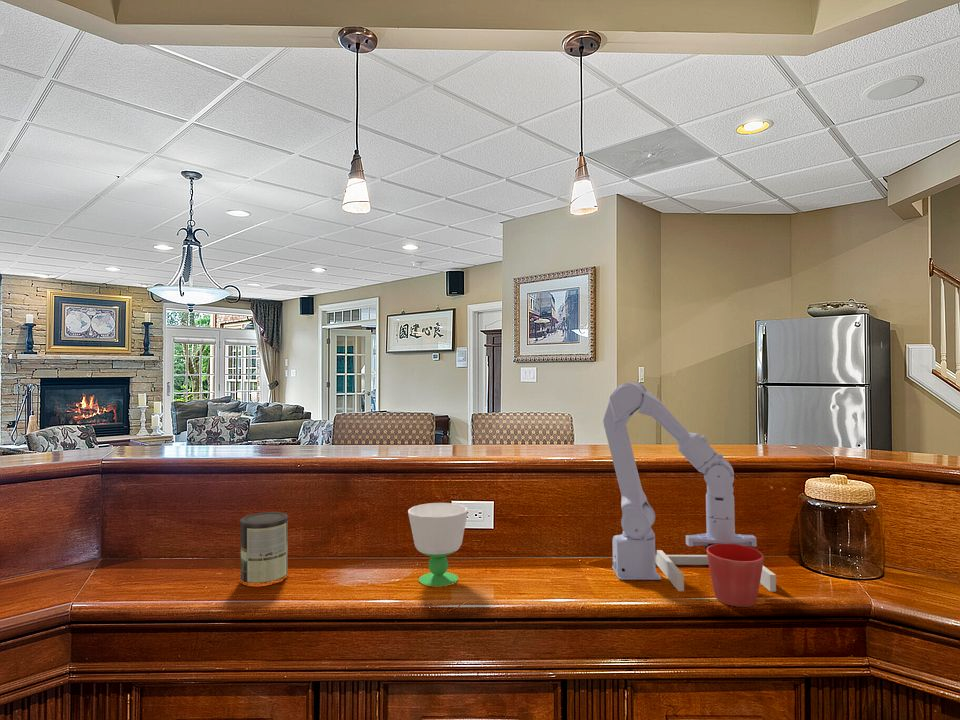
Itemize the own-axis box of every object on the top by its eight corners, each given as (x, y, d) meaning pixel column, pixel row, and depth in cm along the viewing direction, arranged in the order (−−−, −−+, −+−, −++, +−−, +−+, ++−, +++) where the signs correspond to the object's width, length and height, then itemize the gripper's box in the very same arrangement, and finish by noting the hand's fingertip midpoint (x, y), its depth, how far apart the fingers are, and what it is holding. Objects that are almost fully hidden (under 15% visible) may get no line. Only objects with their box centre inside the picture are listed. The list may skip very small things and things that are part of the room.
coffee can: (229, 583, 127) (229, 520, 127) (265, 568, 136) (265, 510, 137) (263, 590, 123) (263, 525, 123) (297, 575, 132) (297, 514, 132)
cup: (403, 573, 133) (402, 505, 133) (459, 566, 137) (458, 500, 137) (414, 595, 120) (414, 519, 120) (476, 586, 124) (475, 514, 124)
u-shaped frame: (678, 591, 120) (678, 574, 120) (655, 563, 138) (655, 548, 138) (776, 591, 119) (775, 574, 120) (740, 563, 137) (740, 548, 137)
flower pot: (759, 590, 119) (757, 544, 119) (770, 613, 109) (768, 563, 109) (705, 585, 122) (703, 541, 122) (710, 608, 112) (709, 559, 112)
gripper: (745, 511, 127) (747, 572, 127) (680, 511, 128) (681, 572, 127) (760, 519, 120) (762, 584, 120) (691, 519, 121) (692, 584, 120)
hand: (721, 579), depth 123 cm, fingers closed
